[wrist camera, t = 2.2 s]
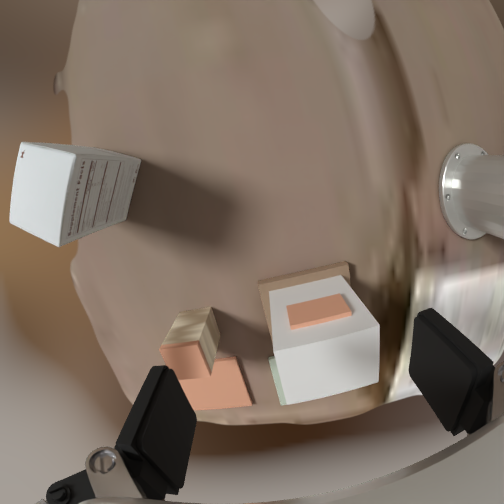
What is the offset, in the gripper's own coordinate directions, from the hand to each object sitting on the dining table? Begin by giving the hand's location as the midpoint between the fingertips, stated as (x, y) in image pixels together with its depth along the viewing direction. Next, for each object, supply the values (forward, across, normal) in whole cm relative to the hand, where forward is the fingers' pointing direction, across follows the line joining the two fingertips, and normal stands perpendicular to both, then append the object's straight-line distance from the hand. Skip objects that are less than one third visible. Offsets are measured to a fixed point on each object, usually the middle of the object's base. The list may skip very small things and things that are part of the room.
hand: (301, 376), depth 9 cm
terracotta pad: (+21, +12, +18) cm, 30 cm away
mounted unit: (+21, -3, +8) cm, 22 cm away
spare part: (+21, +10, +8) cm, 25 cm away
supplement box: (+21, +16, -11) cm, 29 cm away
